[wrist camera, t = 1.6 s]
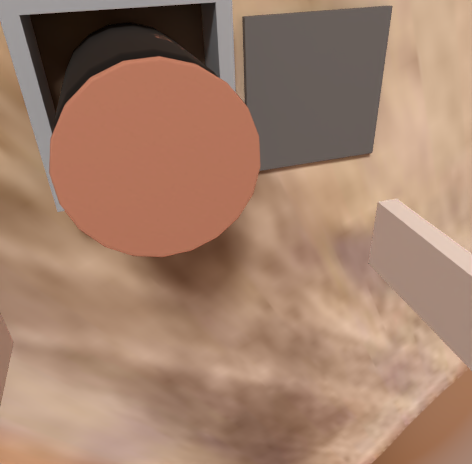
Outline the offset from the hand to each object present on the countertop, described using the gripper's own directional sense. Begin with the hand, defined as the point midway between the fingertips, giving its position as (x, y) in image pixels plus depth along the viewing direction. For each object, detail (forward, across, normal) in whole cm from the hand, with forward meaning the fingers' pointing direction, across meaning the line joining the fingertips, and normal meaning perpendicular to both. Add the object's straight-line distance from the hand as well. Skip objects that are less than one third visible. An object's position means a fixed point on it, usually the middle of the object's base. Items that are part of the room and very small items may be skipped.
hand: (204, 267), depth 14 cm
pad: (+27, +17, -2) cm, 32 cm away
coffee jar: (+27, 0, 0) cm, 27 cm away
